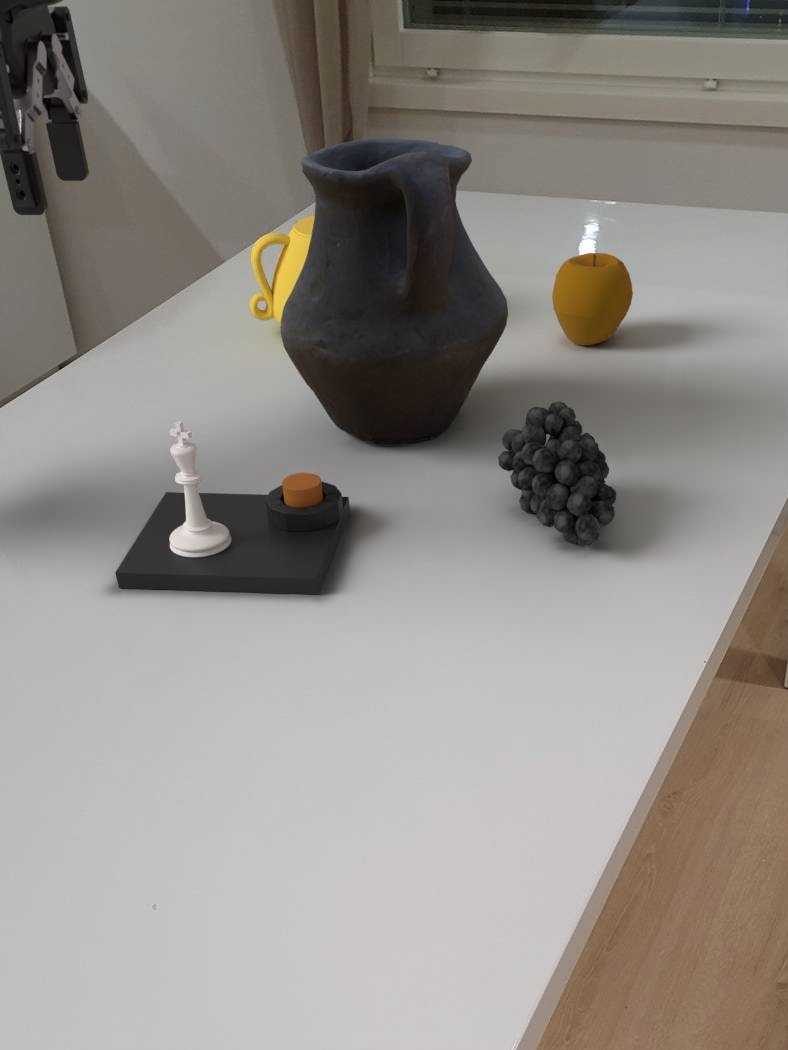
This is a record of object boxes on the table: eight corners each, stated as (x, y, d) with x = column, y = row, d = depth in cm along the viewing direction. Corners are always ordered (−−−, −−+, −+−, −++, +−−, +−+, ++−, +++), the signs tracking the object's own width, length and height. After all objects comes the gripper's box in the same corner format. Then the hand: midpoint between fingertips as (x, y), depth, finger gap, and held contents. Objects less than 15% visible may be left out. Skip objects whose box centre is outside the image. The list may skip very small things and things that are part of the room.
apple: (617, 359, 135) (622, 271, 129) (540, 351, 137) (541, 264, 131) (638, 332, 141) (643, 246, 135) (564, 324, 143) (566, 239, 137)
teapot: (435, 343, 140) (429, 216, 131) (262, 362, 136) (245, 234, 128) (399, 285, 154) (392, 168, 146) (242, 302, 151) (225, 183, 143)
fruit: (622, 452, 96) (568, 374, 107) (520, 497, 97) (477, 415, 108) (649, 546, 102) (596, 463, 113) (553, 587, 103) (509, 501, 114)
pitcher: (454, 368, 134) (444, 96, 117) (551, 446, 119) (556, 147, 103) (266, 406, 128) (228, 123, 111) (344, 493, 113) (313, 182, 96)
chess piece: (209, 562, 101) (187, 440, 94) (157, 551, 103) (132, 430, 96) (243, 535, 104) (224, 415, 98) (192, 524, 106) (170, 405, 99)
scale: (118, 588, 101) (110, 553, 99) (168, 506, 112) (162, 474, 110) (318, 594, 100) (314, 560, 98) (350, 511, 110) (347, 478, 108)
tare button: (280, 509, 105) (278, 489, 104) (289, 491, 107) (286, 471, 106) (319, 510, 105) (317, 490, 104) (326, 492, 107) (324, 472, 106)
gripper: (-22, -98, 86) (38, 169, 96) (-118, -72, 75) (-38, 225, 86) (86, -100, 85) (135, 170, 96) (5, -74, 74) (71, 226, 85)
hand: (53, 196), depth 91 cm, fingers open, 8 cm apart
